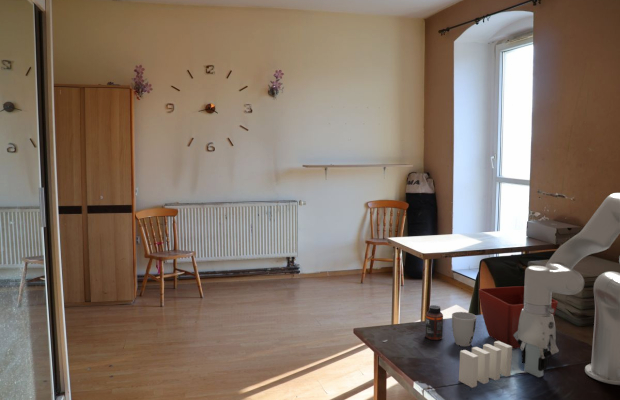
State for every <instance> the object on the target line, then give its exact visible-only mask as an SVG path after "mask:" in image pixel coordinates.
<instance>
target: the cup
mask: <svg viewBox="0 0 620 400" xmlns="http://www.w3.org/2000/svg"><path fill="white" fill-rule="evenodd" d="M476 324H477V316H476V315H475V314H474V313H470V312H466V311H456V312H453V313H451V325H452V326H451V328H452V333H453V339H454V342H455V345H457V346H459V345H460V346H459V347H469V346H471V344H472V342H473V340H474V337H475V333H476V332H475V331H476Z"/></svg>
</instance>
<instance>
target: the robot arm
mask: <svg viewBox="0 0 620 400" xmlns="http://www.w3.org/2000/svg"><path fill="white" fill-rule="evenodd" d="M619 235H620V192H613V193H611V194H610V195H608V196H607V197H606V198H605V199H604V200H603V202H602V203H601V204H600V206H599V207H598V208H597V210H596V211H595V212H594V213H593V215H591V218H590V219H589V220H588V221H587V223H585V226H583V228H582V229H581V231H580V232H578V233H577V234H576V235H573V236H572V237H571V238H569V239H568V240H567V241H565V242H564V243H563V244H562V245H560V246H559V247H558V248H557V249H556V250H555V251H554V253H553V254H552V255H551V257H550V258H549V259H548V261H547V262H546V263H545V266H543V265H529V266H527V267H526V268H525V271H524V286H523V287H524V306H523V309H522V311H521V314H520V318H519V325H518V331H517V332H516V333H515V334H514V337H515V339H516V340H517V342H518V344H519V345H520V348H519V349H520V351H521V364H522V365H523V364H524V365H525V354H526V352H525V349H526V343H528V344H531V345H533V346H536V347H539V351H540V356H541V357H540V358H539V360H538V370H539V371H542V370H543V371H544V370H545V371H546V370H547V369H548V364H549V363H548V361H549V360H548V359H549V357H551V356H552V355H554V354H557V353H559V348H558V346H557V344H556V338H557V337H556V336H557V335H556V334H557V333H556V323H555V315H554V316H553V315H552V314H551V313H554V309H552V308H551V300H552V299H553V298H552V297H553V296H552V295H553V293H554V294H555V293H556V294H560V295H570V296H571V295H576V294H578V293H580V292H582V291H583V289H584V287H585V279H584V276H582V274H581V273H580V272H579V271H577V270H576V269H574V267H575V266H576V265H577V264H578V263H579V262H580V261H581V260H582V259H584V258H585V257H587V256H589V255H592V254H597V253H600V252H603V251H606V250H607V249H608V250H609V249H610V248H611V246H612V244H613V243H614V242H615V241H616V239H617V238H618V237H619ZM618 259H619V260H618V262H619V264H620V256H619V257H618ZM593 296H594V322H593V324H594V325H593V336H592V337H593V338H592V347H591V348H592V350H591V361H590V362H591V363H589V364H587V365H585V367H584V372H585V374H586V375H587V376H589V377H590V378H591V379H594V380H596V381H598V382H602V383H604V384H609V385H617V386H620V272H617V271H605V272H603V273H601V274H600V275H598V276H597V277H596V278H595V281H594V283H593ZM549 347H550V349H549Z"/></svg>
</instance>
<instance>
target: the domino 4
mask: <svg viewBox="0 0 620 400" xmlns="http://www.w3.org/2000/svg"><path fill="white" fill-rule="evenodd" d="M493 346H494V347H497V348H499V349H501V365H500V375H502V376H504V377H505V378H506V377H509V376H511V375H512V361H513V360H512V356H513V349H512V346H510V345H507V344H505V343H503V342H500V341H497V340H495V341H494V342H493Z"/></svg>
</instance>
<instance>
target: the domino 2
mask: <svg viewBox="0 0 620 400" xmlns="http://www.w3.org/2000/svg"><path fill="white" fill-rule="evenodd" d="M471 353H473V354H475V355H477V356H478V374H477V382H478V383H481V384H483V385H485V384H488V383H489V380H490V377H489V364H490V352H487V351H485V350H483V348H480V347H478V346H474V347H471Z"/></svg>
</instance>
